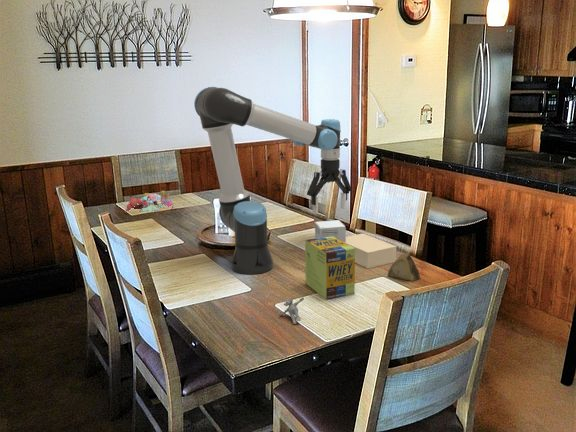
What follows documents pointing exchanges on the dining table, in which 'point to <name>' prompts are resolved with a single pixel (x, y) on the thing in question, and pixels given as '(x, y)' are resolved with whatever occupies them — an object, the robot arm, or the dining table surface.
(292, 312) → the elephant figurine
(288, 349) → the dining table surface
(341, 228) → the supplement box
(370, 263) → the sleeve
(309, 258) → the protein box
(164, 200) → the candy landscape model
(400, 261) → the rock
